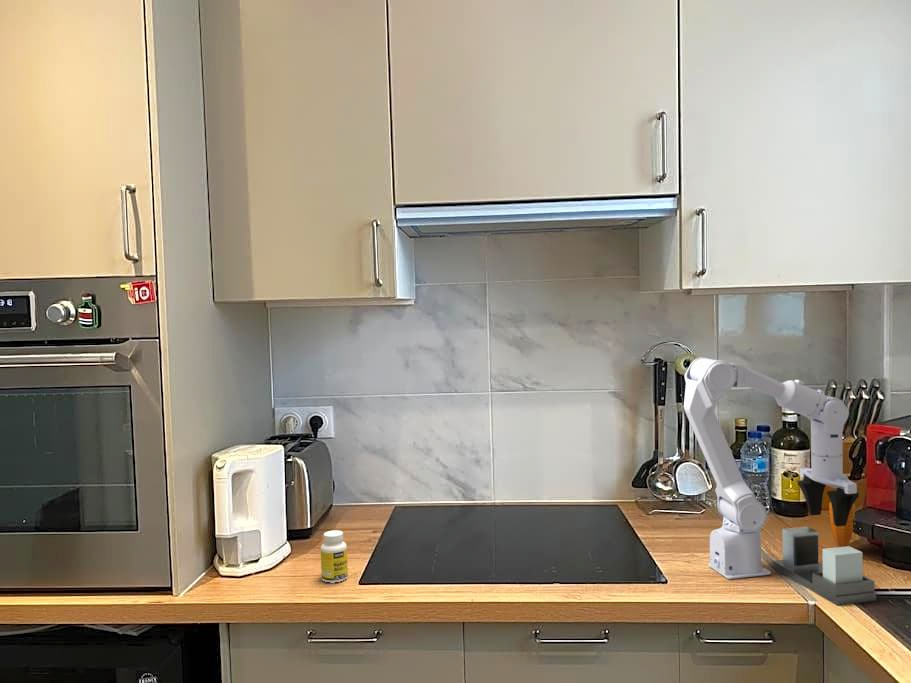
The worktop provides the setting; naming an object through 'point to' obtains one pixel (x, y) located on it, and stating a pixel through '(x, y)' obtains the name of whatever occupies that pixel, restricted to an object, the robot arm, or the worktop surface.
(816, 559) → the grey block holder
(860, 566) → the pale green upright block
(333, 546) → the supplement bottle
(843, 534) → the carrot
